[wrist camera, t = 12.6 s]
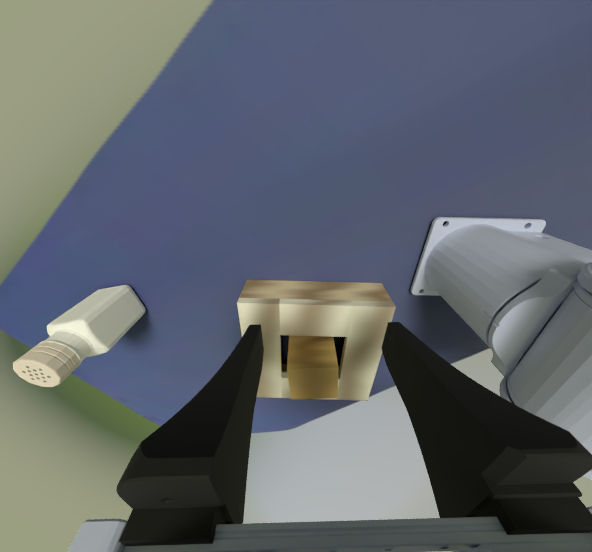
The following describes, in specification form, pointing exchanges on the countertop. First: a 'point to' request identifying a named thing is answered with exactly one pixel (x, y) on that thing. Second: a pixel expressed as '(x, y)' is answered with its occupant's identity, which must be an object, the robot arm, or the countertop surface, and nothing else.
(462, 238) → the robot arm
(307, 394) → the ochre peg
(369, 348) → the posting box
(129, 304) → the pepper shaker
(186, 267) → the countertop surface
